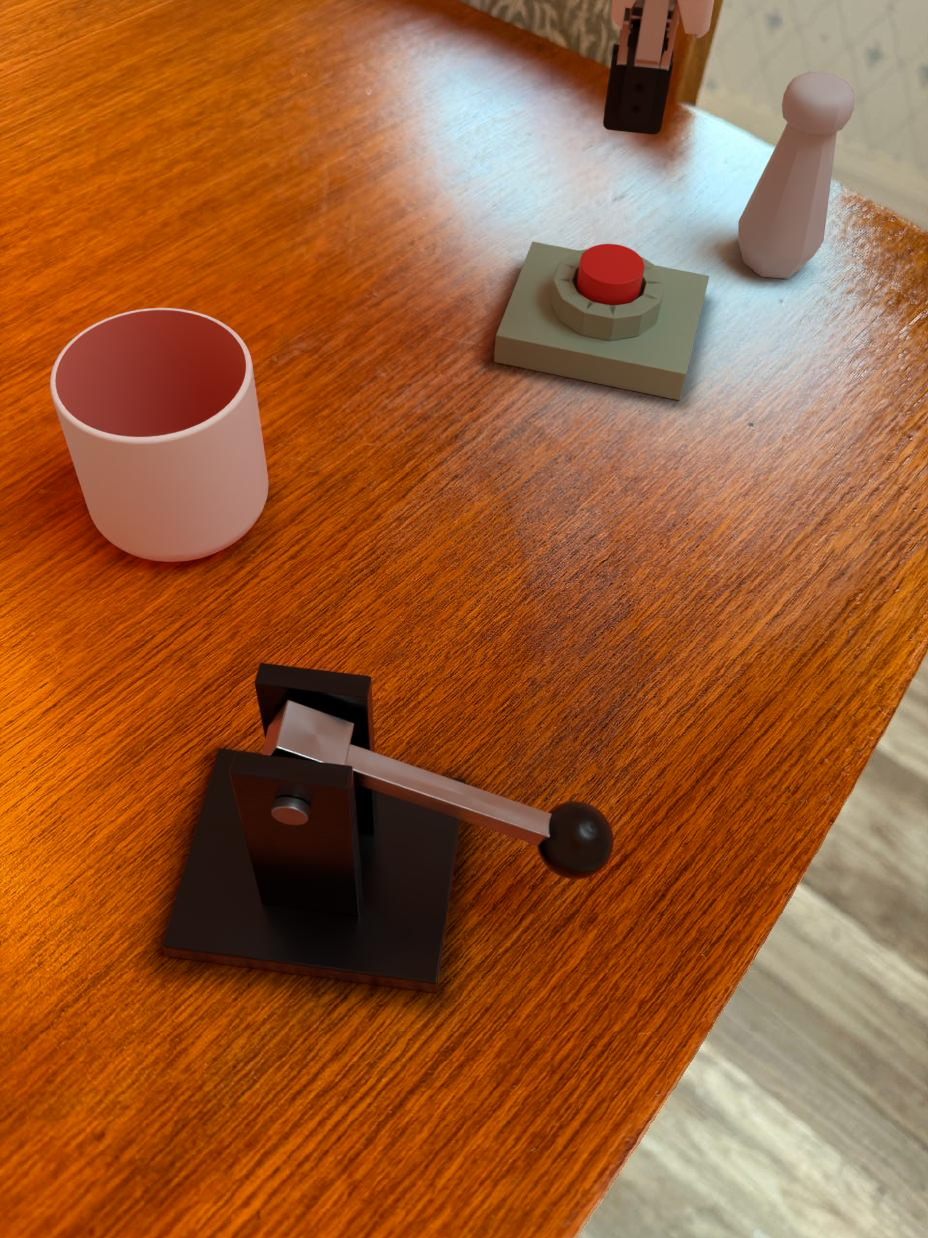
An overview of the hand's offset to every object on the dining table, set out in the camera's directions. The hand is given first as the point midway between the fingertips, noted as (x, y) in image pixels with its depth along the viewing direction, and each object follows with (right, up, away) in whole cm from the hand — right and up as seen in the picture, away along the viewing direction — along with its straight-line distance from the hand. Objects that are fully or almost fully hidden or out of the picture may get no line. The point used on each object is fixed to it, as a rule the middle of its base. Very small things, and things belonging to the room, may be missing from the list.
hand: (631, 123), depth 67 cm
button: (0, -7, +9) cm, 11 cm away
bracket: (-16, -39, -12) cm, 44 cm away
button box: (0, -9, +12) cm, 15 cm away
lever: (-11, -36, -18) cm, 41 cm away
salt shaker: (+12, -3, +17) cm, 21 cm away
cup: (-25, -21, +2) cm, 33 cm away
